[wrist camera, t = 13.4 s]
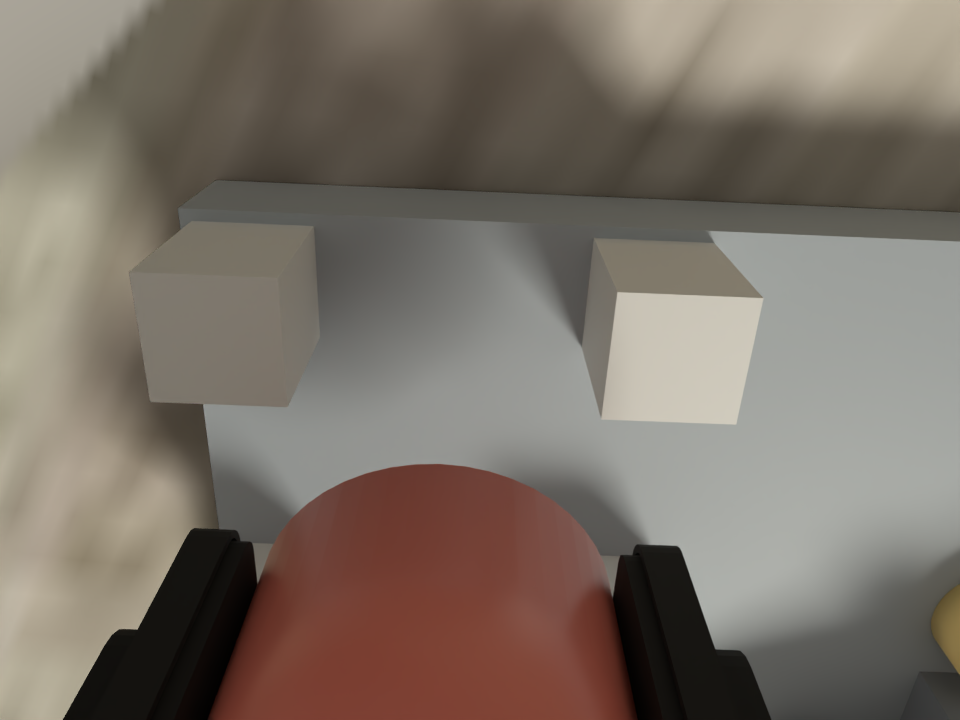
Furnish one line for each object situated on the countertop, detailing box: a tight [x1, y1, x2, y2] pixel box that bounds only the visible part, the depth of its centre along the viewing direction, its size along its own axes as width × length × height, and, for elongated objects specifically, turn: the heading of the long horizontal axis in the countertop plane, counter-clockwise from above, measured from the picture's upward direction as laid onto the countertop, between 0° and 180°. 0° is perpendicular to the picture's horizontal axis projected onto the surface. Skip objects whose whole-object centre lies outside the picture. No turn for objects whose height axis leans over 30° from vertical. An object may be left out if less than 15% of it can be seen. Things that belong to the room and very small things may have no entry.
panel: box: [129, 180, 960, 720], centre depth 16 cm, size 19×22×6 cm
